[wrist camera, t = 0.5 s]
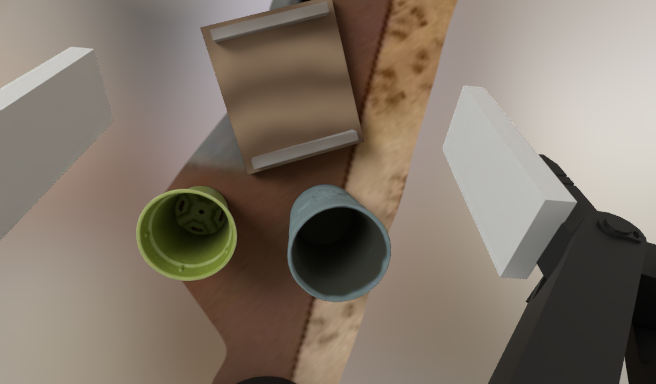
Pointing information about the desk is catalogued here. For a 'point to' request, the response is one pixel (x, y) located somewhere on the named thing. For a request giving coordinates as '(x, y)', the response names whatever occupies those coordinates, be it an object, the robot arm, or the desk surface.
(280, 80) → the board
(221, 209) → the plant pot
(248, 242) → the desk surface
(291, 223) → the blue ceramic cup
